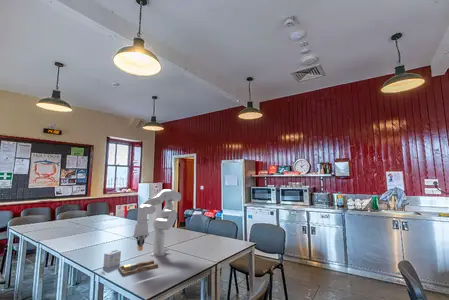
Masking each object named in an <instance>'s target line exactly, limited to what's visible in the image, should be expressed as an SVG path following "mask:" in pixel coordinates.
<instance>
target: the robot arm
mask: <svg viewBox="0 0 449 300" xmlns="http://www.w3.org/2000/svg"><path fill="white" fill-rule="evenodd" d="M181 200H182V194H181V193H180V192H178V191H176V190H173V189H162V190H161V191H160V192H159V193H158V194H157V195H156V196H154V197H151V198H149V199H147V200H145V201H144V202H142V203H141V204H140V205H139V206H138V207H137V219H136V223H135V226H134V231H133V235H132V238H134V239H136V244H137V245H140V240H139V237H140V236H144V238H143V245H145V241H146V238H148V237H149V236H150V233H149V223H148V222H149V221H150V220H149V218H148V215H153V214H155V213H156V211H157V207H156V206H160V205H162V204H163V203H164V207H163V209H162V211H161V212H160V215H159V217H160V218H156V219H154V221H153V224H152V225H153V246H152V247H153V251H152V252H151V253H150V254H151V256H152V257H156V256H161V257H162V256H163V257H164V256H165V255H167V253H166V252H170V248H165V239H166V238H165V237H166V236H165V235H166V233H165V231H170V230H171V229H172V227H173V226H174V224H175V222H176V219H177V217H178V213H177V210H175V209H174V204H173V202H180V201H181ZM164 201H165V202H164Z"/></svg>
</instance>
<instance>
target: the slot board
mask: <svg viewBox="0 0 449 300" xmlns="http://www.w3.org/2000/svg"><path fill="white" fill-rule="evenodd" d="M135 264H136V270H133V271H128V272H123V265H120V266H118V268H117V270H118V271H119V273H120V275H121V276H122V277H124V276H129V275H134V274H137V273H141V272H145V271H150V270H155V269H159V263H158V262H157V263H155V260H154V259H151V260H147V261H143V262H138V263H135Z"/></svg>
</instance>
